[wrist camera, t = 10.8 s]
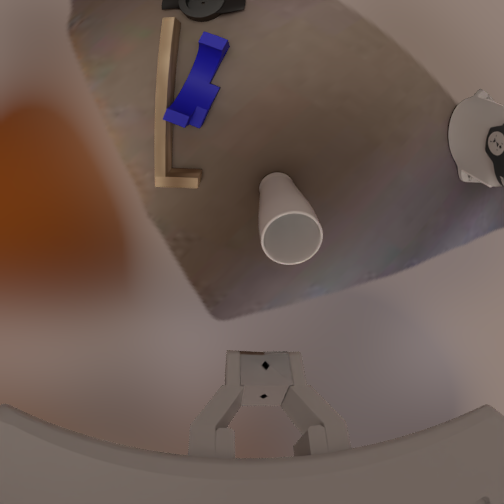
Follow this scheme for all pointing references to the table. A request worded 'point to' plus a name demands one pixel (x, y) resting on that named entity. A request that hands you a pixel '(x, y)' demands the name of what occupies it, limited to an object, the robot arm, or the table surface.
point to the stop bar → (163, 100)
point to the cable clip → (199, 84)
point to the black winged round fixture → (204, 7)
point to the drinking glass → (286, 221)
